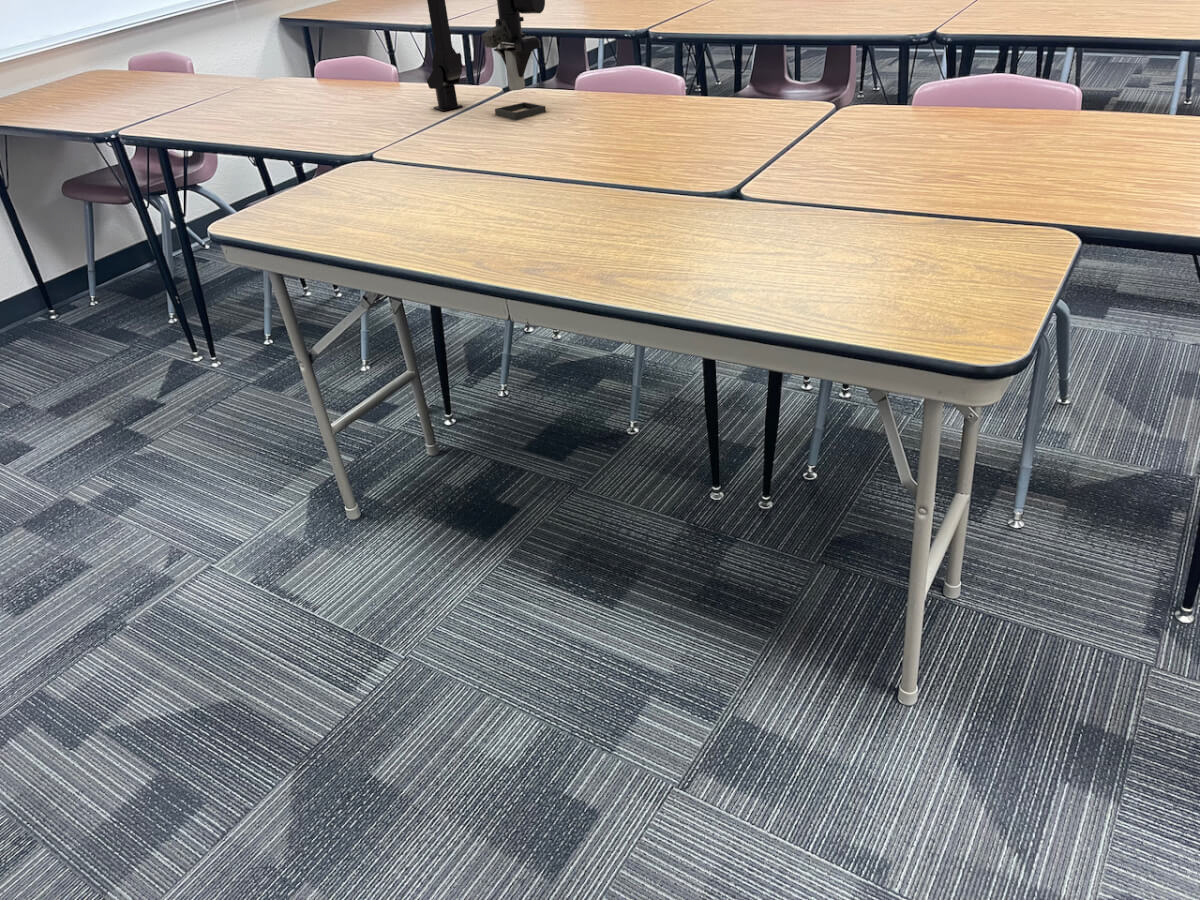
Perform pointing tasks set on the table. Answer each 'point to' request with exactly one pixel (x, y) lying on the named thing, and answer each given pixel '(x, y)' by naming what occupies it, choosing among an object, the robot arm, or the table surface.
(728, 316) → the table surface
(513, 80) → the gray cylinder
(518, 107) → the black square frame
